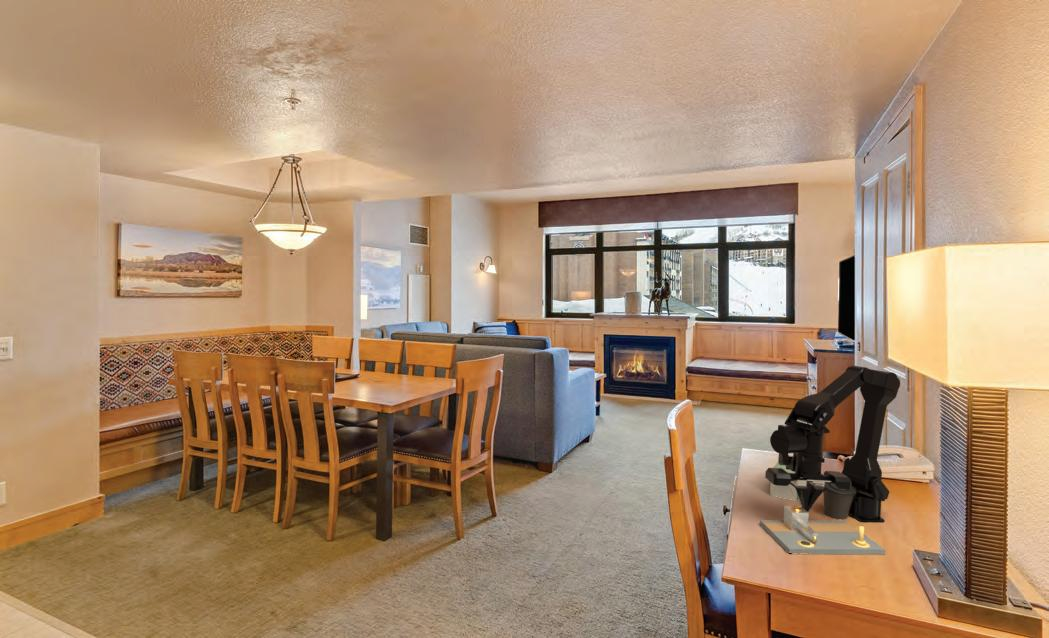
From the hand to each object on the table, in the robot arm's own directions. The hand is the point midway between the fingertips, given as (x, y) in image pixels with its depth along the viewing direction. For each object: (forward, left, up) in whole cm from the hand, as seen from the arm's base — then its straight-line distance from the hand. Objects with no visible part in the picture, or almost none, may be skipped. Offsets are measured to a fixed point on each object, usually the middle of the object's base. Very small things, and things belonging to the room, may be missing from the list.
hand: (805, 511), depth 133 cm
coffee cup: (-13, -9, -5) cm, 17 cm away
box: (-9, -26, -5) cm, 28 cm away
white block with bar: (+3, +5, -3) cm, 6 cm away
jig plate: (-1, +5, -5) cm, 7 cm away
